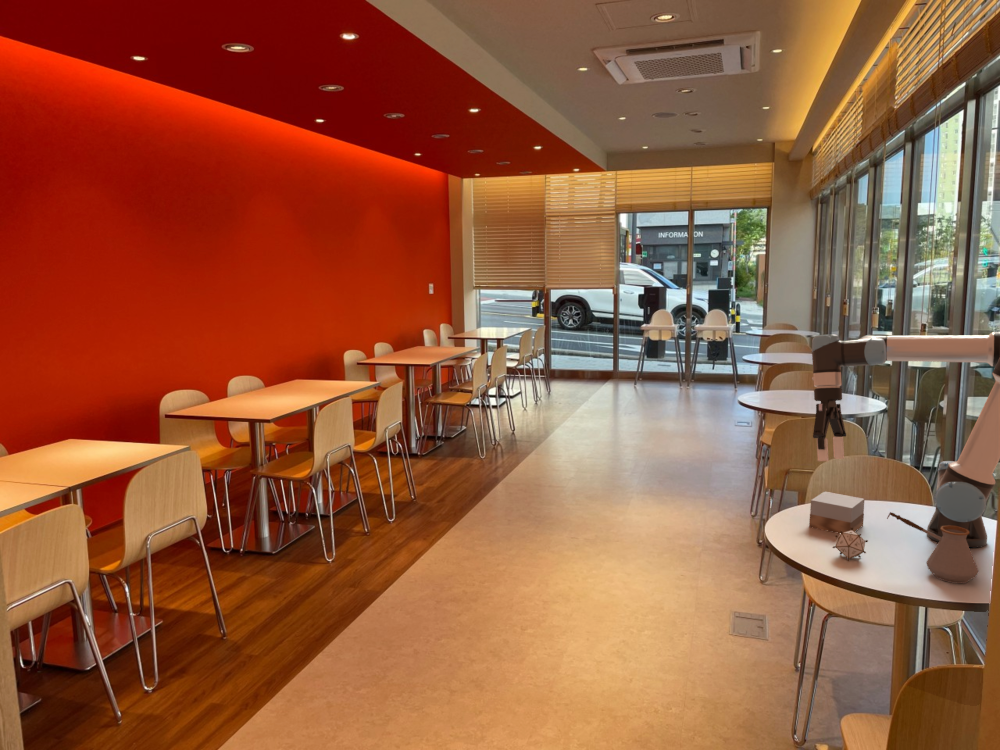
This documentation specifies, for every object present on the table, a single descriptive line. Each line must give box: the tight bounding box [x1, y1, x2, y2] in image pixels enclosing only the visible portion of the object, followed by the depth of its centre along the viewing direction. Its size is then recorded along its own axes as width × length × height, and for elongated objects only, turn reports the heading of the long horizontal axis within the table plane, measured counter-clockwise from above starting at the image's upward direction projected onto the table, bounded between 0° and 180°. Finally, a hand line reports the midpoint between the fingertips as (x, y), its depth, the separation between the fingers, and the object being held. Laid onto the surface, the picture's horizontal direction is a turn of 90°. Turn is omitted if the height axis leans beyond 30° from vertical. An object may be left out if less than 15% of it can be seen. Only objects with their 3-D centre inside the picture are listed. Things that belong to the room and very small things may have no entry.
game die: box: [831, 527, 869, 562], centre depth 205 cm, size 9×8×10 cm
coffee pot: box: [886, 511, 979, 584], centre depth 194 cm, size 21×12×15 cm, turn 58°
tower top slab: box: [809, 491, 865, 522], centre depth 230 cm, size 12×12×4 cm
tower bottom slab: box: [808, 512, 865, 534], centre depth 231 cm, size 12×12×4 cm
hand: (831, 459), depth 217 cm, fingers open, 13 cm apart
